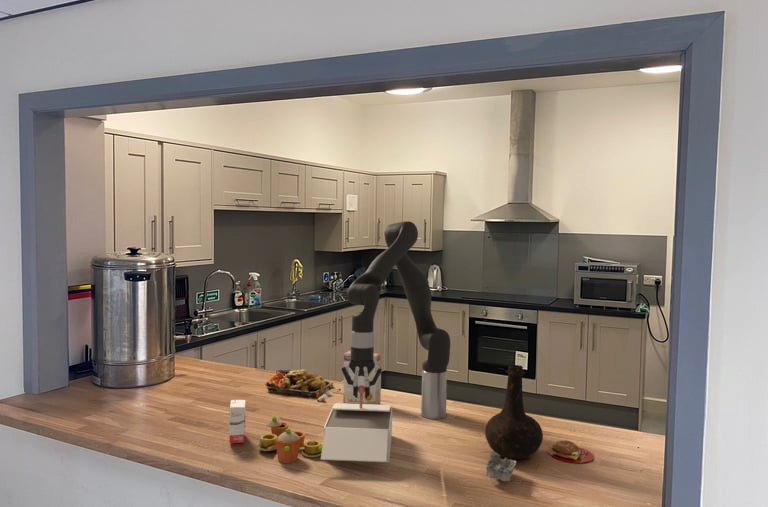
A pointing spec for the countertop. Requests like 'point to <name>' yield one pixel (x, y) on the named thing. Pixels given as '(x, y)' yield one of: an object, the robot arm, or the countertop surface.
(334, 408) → the flap
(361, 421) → the carton
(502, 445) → the glass bottle
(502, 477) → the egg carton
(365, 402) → the cracker box
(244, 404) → the ink box
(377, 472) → the countertop surface
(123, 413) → the countertop surface
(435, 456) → the countertop surface
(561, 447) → the hamburger
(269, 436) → the toy tea set
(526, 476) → the countertop surface
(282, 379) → the food tray
